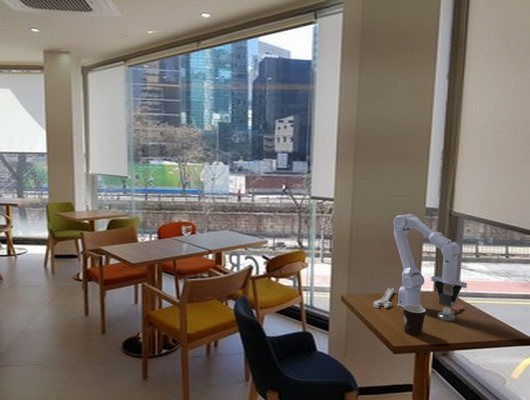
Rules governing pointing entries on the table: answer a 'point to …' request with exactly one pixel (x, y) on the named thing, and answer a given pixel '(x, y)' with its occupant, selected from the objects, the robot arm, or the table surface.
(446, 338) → the table surface
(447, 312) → the ratchet
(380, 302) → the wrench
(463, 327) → the table surface
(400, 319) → the table surface
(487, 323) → the table surface
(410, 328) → the coffee mug
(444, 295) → the socket
